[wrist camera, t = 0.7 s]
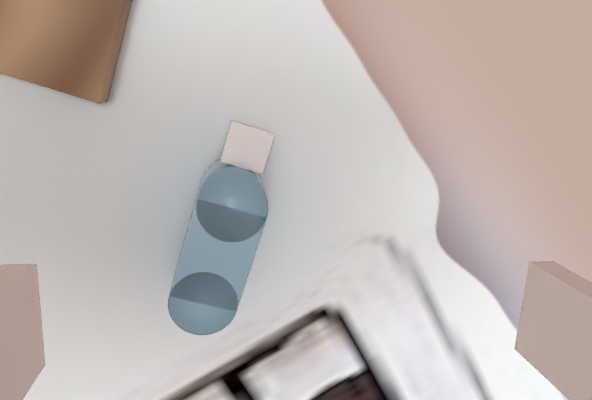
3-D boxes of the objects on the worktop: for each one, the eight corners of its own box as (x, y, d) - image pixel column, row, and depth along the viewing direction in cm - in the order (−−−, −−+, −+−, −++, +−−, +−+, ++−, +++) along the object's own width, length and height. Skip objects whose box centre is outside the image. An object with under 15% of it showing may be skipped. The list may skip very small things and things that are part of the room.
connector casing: (171, 284, 34) (160, 326, 28) (221, 114, 32) (219, 122, 26) (226, 298, 35) (226, 341, 29) (279, 133, 32) (290, 144, 27)
